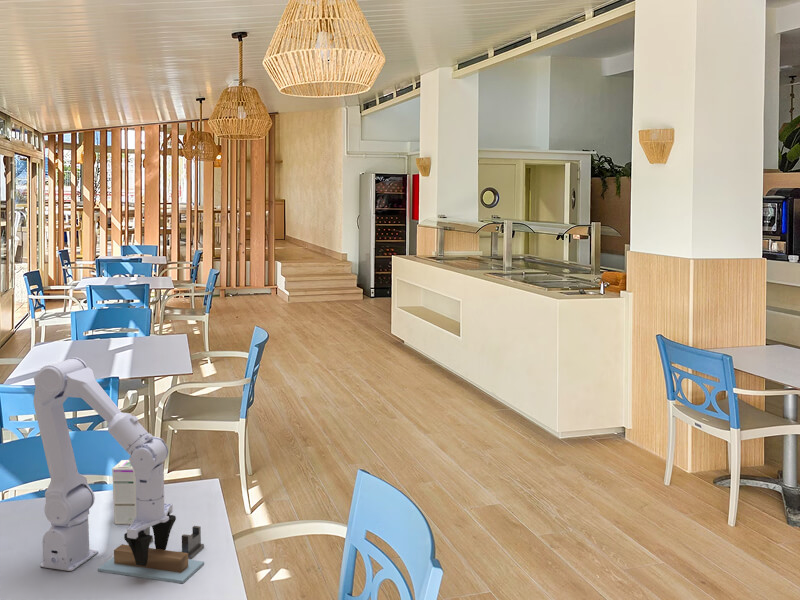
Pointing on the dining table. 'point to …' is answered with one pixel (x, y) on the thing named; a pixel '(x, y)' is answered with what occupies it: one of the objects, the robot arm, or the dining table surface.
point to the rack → (188, 541)
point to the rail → (153, 559)
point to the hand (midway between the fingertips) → (151, 556)
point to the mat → (152, 571)
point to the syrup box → (124, 492)
